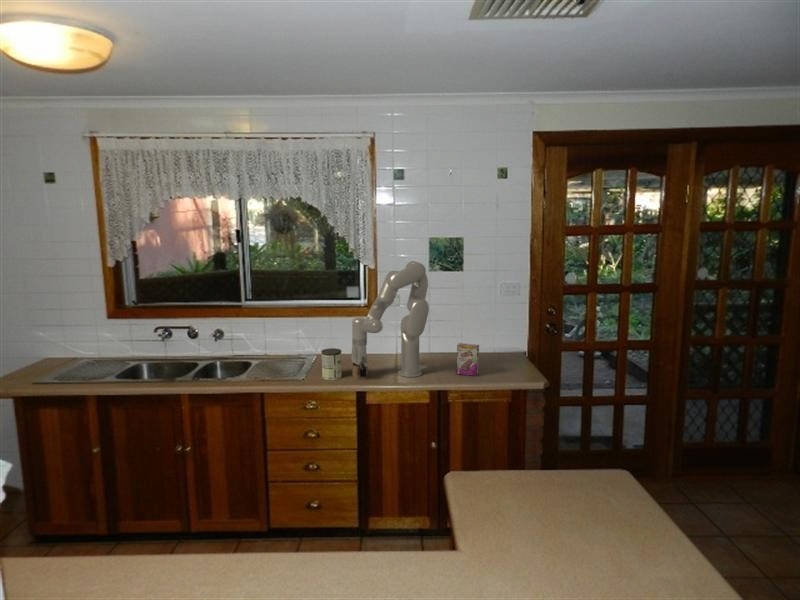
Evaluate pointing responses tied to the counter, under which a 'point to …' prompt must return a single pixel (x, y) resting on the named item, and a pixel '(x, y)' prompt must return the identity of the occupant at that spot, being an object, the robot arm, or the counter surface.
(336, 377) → the coffee can
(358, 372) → the walnut cube
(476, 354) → the candy bar box
